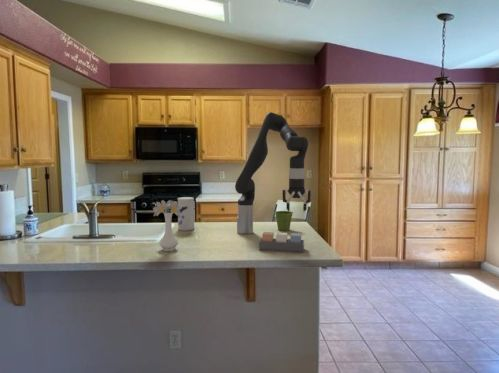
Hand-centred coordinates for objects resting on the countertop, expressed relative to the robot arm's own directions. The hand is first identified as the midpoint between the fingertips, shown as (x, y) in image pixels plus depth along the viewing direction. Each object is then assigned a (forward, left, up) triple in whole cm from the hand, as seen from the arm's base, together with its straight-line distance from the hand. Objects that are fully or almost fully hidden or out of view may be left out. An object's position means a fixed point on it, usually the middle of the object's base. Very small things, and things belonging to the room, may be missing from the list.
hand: (296, 210), depth 178 cm
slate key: (0, 0, -16) cm, 16 cm away
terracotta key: (-14, 0, -16) cm, 22 cm away
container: (-72, +36, -20) cm, 83 cm away
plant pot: (-11, +46, -20) cm, 51 cm away
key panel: (-7, 0, -20) cm, 21 cm away
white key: (-7, 0, -16) cm, 18 cm away
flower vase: (-63, -11, -20) cm, 67 cm away
